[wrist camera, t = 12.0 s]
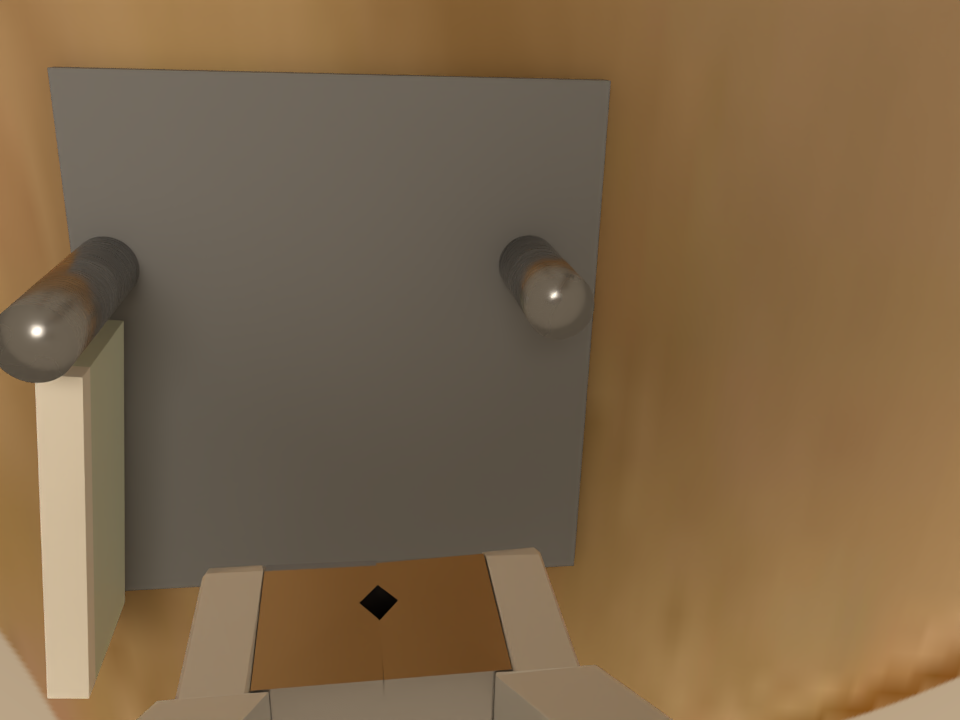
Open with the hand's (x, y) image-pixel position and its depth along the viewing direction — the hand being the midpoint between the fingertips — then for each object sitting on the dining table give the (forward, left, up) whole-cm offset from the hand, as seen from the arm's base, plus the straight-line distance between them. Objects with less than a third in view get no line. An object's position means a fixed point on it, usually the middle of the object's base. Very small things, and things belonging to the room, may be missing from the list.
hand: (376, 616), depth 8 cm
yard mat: (0, +5, -23) cm, 23 cm away
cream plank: (+8, +9, -22) cm, 25 cm away
